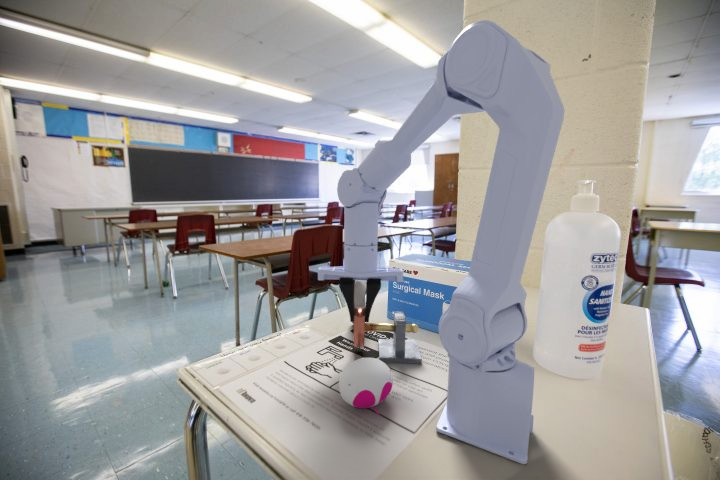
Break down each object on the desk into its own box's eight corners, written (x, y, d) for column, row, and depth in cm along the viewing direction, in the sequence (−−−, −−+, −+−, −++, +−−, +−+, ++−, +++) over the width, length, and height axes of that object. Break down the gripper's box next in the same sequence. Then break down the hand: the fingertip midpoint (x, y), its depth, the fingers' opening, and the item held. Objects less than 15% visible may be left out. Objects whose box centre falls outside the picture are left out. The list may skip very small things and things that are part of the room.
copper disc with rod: (414, 338, 58) (416, 303, 57) (421, 356, 51) (422, 317, 50) (355, 336, 58) (355, 302, 57) (353, 354, 51) (353, 315, 51)
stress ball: (347, 442, 39) (360, 422, 34) (327, 381, 44) (336, 357, 40) (397, 421, 42) (415, 400, 38) (373, 366, 47) (386, 343, 43)
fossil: (363, 332, 63) (364, 284, 62) (347, 330, 64) (347, 283, 62) (368, 321, 69) (369, 277, 67) (353, 319, 69) (354, 276, 68)
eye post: (415, 343, 58) (416, 309, 57) (421, 363, 51) (423, 324, 50) (378, 343, 58) (379, 308, 57) (379, 362, 51) (380, 323, 51)
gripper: (400, 241, 56) (398, 312, 58) (322, 239, 57) (322, 310, 58) (405, 247, 49) (402, 328, 51) (315, 245, 50) (315, 325, 51)
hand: (359, 319), depth 54 cm, fingers closed on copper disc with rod, 2 cm apart
